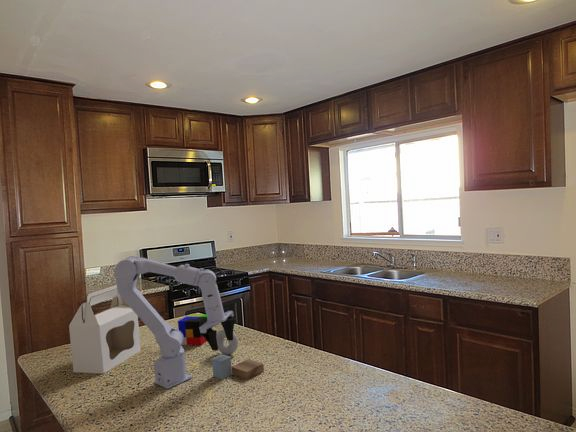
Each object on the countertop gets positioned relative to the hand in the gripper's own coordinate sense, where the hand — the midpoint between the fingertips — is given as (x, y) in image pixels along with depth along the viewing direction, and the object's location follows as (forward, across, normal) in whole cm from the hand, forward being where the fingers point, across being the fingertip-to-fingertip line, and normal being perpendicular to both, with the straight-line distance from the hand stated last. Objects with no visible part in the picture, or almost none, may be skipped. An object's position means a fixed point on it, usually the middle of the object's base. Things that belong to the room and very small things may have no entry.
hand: (223, 344), depth 135 cm
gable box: (+3, -11, +51) cm, 53 cm away
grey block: (+10, -2, +1) cm, 10 cm away
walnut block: (+11, +2, -6) cm, 13 cm away
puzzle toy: (+8, +19, +35) cm, 41 cm away
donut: (+10, +12, +12) cm, 20 cm away
